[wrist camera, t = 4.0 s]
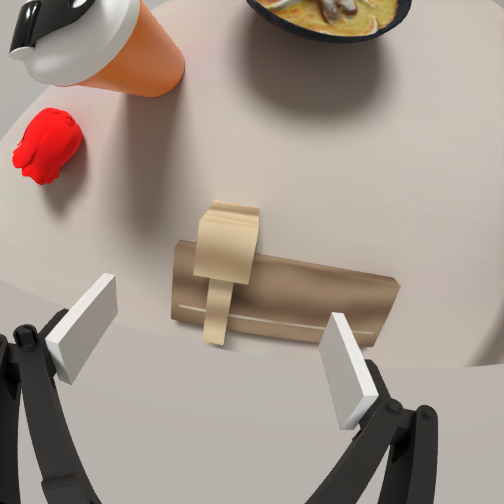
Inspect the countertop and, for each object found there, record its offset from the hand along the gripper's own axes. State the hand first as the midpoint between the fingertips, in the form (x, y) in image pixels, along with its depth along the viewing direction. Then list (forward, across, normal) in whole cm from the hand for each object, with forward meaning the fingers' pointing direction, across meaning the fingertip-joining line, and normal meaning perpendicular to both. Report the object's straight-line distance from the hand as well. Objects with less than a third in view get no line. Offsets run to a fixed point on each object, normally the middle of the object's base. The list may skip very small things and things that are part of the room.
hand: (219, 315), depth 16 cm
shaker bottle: (+18, -12, +17) cm, 28 cm away
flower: (+19, -24, +8) cm, 32 cm away
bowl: (+18, +4, +29) cm, 34 cm away
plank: (+18, +8, -8) cm, 21 cm away
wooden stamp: (+18, 0, -5) cm, 19 cm away
